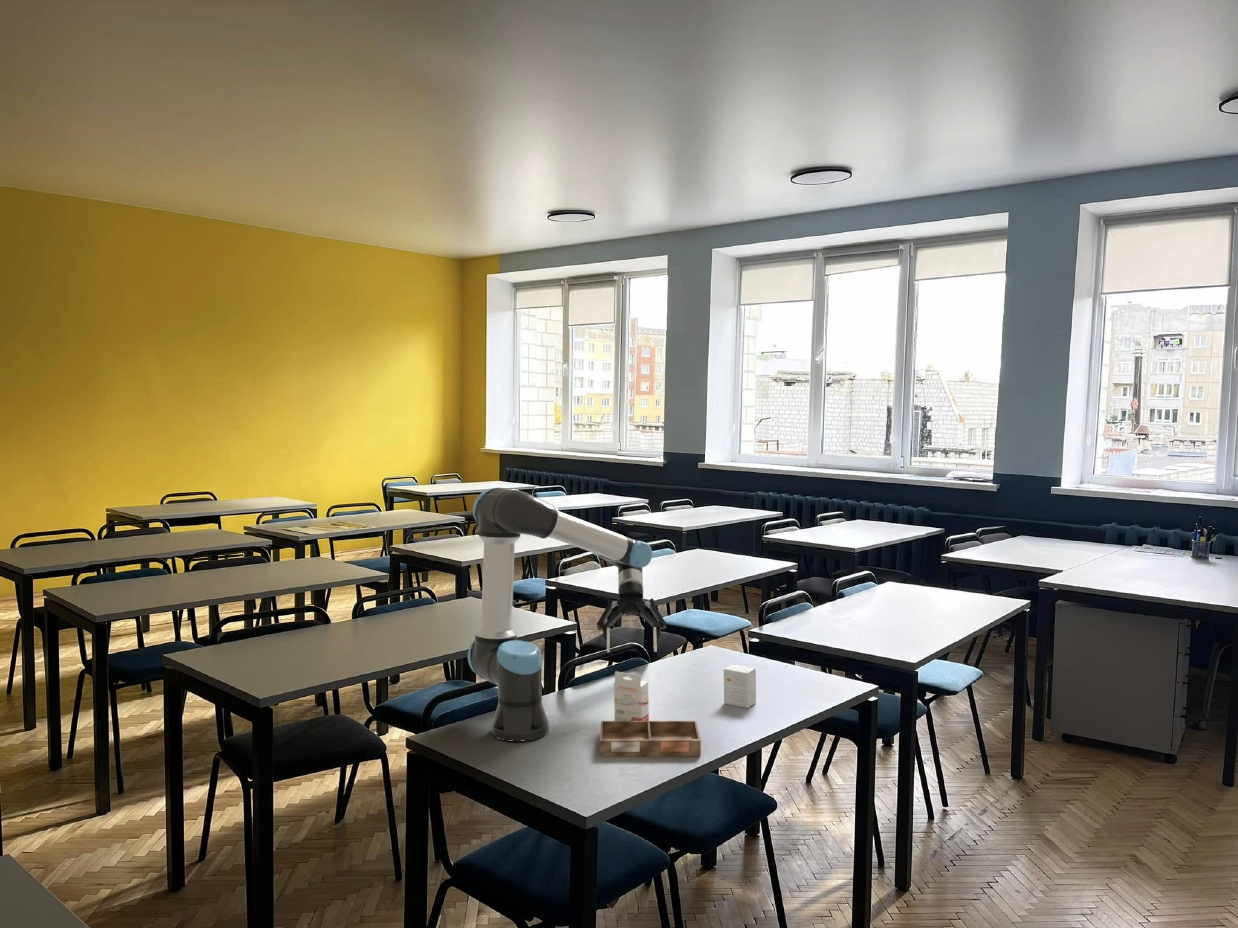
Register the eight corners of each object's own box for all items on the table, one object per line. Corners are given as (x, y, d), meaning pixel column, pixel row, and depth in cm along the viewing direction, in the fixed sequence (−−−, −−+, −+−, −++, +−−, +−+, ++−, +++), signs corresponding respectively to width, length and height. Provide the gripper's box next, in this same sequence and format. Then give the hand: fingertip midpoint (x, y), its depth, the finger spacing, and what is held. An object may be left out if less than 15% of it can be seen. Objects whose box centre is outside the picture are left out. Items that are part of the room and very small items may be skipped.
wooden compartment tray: (599, 756, 208) (599, 741, 208) (601, 735, 222) (601, 720, 222) (700, 756, 208) (700, 740, 208) (696, 735, 222) (695, 720, 222)
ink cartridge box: (649, 723, 231) (649, 670, 231) (641, 729, 227) (641, 675, 226) (622, 718, 235) (621, 666, 235) (613, 723, 231) (613, 671, 230)
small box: (756, 703, 247) (756, 668, 246) (748, 708, 242) (748, 672, 242) (731, 698, 251) (731, 663, 251) (723, 703, 247) (723, 668, 246)
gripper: (671, 593, 258) (674, 655, 244) (590, 594, 258) (589, 656, 244) (672, 579, 253) (675, 642, 239) (589, 580, 253) (588, 643, 239)
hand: (631, 649), depth 241 cm, fingers open, 13 cm apart
